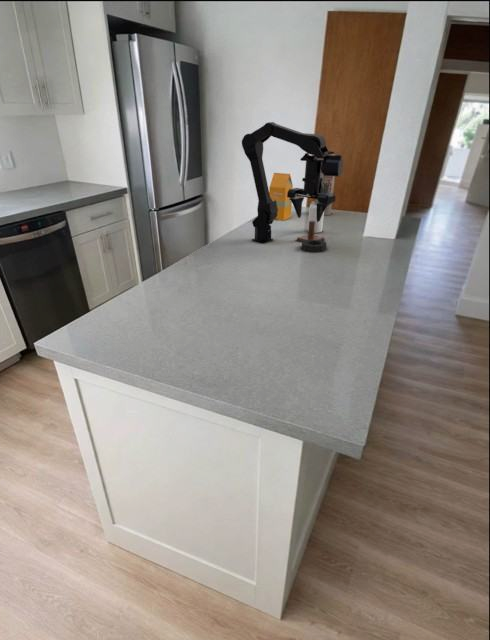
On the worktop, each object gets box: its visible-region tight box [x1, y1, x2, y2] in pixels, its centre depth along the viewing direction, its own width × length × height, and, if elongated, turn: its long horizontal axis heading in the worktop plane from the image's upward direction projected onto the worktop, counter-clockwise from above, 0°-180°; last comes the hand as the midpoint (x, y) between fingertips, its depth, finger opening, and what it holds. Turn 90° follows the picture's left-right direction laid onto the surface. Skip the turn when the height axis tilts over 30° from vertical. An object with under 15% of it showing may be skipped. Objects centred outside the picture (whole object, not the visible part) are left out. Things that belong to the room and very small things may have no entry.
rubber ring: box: [301, 240, 327, 253], centre depth 167 cm, size 9×10×2 cm
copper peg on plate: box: [296, 221, 325, 243], centre depth 175 cm, size 8×8×8 cm
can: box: [307, 200, 325, 234], centre depth 185 cm, size 6×6×12 cm
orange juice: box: [268, 172, 294, 221], centre depth 205 cm, size 8×9×20 cm
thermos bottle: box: [315, 150, 336, 216], centre depth 209 cm, size 8×8×28 cm
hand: (308, 219), depth 164 cm, fingers open, 9 cm apart
